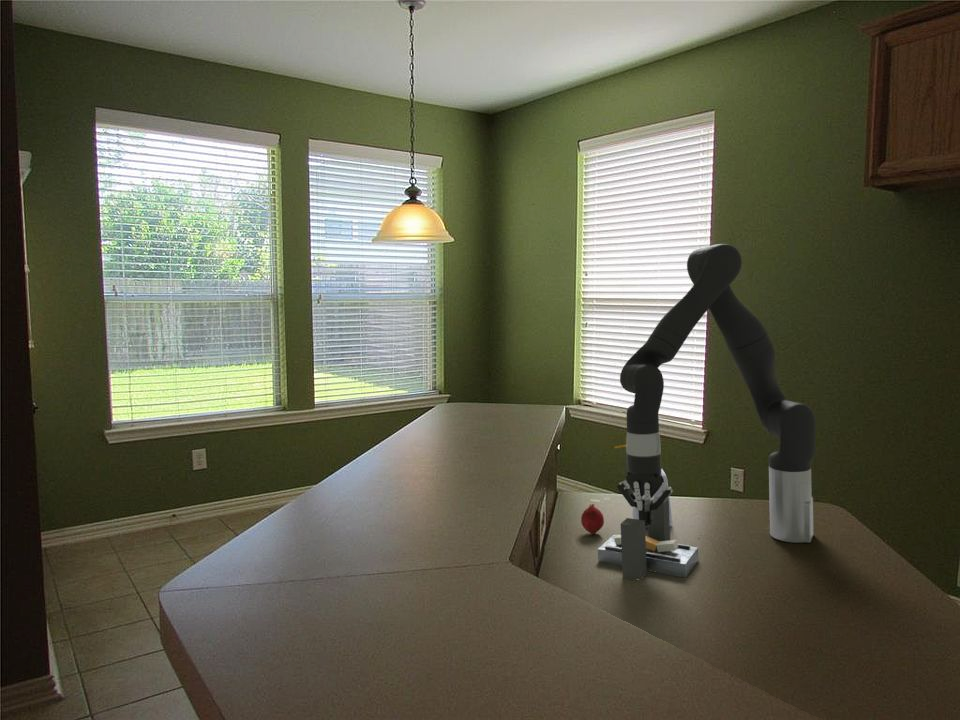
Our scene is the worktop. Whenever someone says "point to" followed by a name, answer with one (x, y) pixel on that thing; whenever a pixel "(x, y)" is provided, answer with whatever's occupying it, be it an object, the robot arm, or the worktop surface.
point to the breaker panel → (654, 558)
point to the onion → (592, 519)
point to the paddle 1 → (618, 540)
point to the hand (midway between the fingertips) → (645, 525)
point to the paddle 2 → (667, 545)
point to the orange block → (651, 543)
